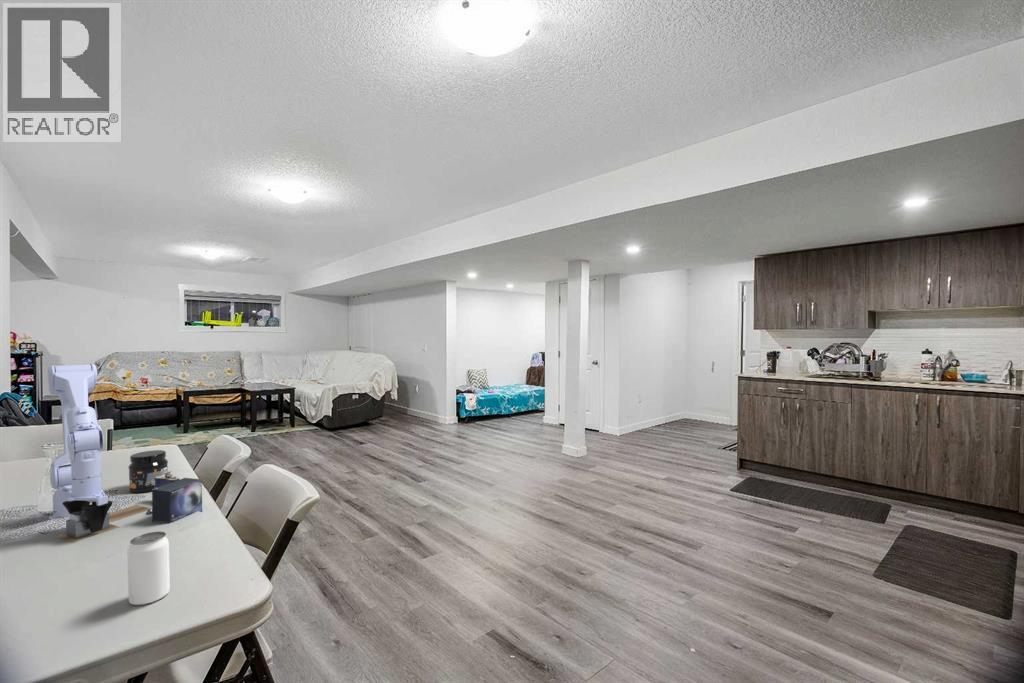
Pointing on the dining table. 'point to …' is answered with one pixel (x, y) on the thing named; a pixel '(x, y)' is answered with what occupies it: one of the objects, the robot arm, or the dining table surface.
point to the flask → (165, 479)
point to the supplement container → (146, 470)
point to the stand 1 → (72, 540)
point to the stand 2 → (126, 512)
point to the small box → (176, 500)
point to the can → (148, 568)
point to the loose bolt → (149, 512)
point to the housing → (81, 525)
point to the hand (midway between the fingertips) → (88, 528)
